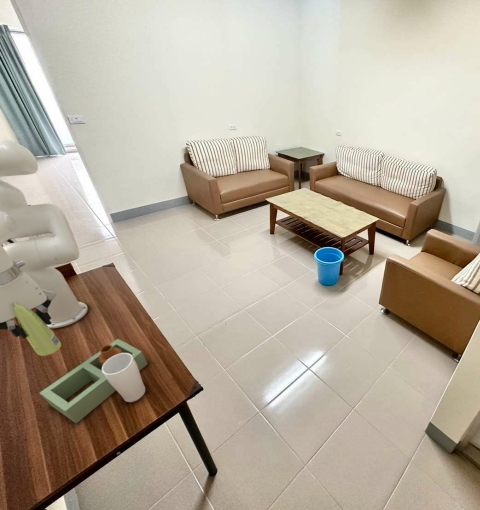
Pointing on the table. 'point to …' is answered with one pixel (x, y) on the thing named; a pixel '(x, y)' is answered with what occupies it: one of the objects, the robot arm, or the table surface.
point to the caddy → (80, 378)
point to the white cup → (124, 376)
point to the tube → (36, 331)
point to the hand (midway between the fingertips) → (34, 328)
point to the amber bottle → (108, 353)
